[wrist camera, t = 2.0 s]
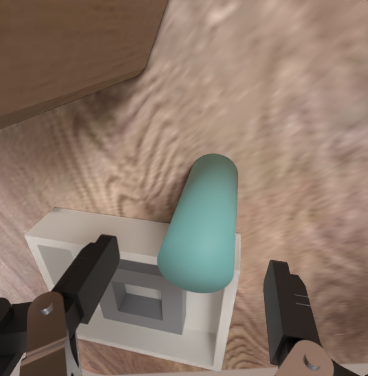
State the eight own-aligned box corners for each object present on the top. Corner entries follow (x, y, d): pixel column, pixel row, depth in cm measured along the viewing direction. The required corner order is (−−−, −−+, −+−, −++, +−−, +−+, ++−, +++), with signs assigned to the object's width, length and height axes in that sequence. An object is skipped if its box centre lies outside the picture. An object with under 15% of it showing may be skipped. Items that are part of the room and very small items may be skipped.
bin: (240, 233, 24) (240, 271, 20) (223, 334, 33) (220, 372, 30) (54, 207, 27) (24, 235, 23) (87, 305, 37) (69, 336, 33)
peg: (241, 156, 20) (238, 245, 11) (235, 197, 22) (229, 299, 13) (191, 151, 20) (155, 233, 12) (190, 192, 22) (158, 285, 14)
